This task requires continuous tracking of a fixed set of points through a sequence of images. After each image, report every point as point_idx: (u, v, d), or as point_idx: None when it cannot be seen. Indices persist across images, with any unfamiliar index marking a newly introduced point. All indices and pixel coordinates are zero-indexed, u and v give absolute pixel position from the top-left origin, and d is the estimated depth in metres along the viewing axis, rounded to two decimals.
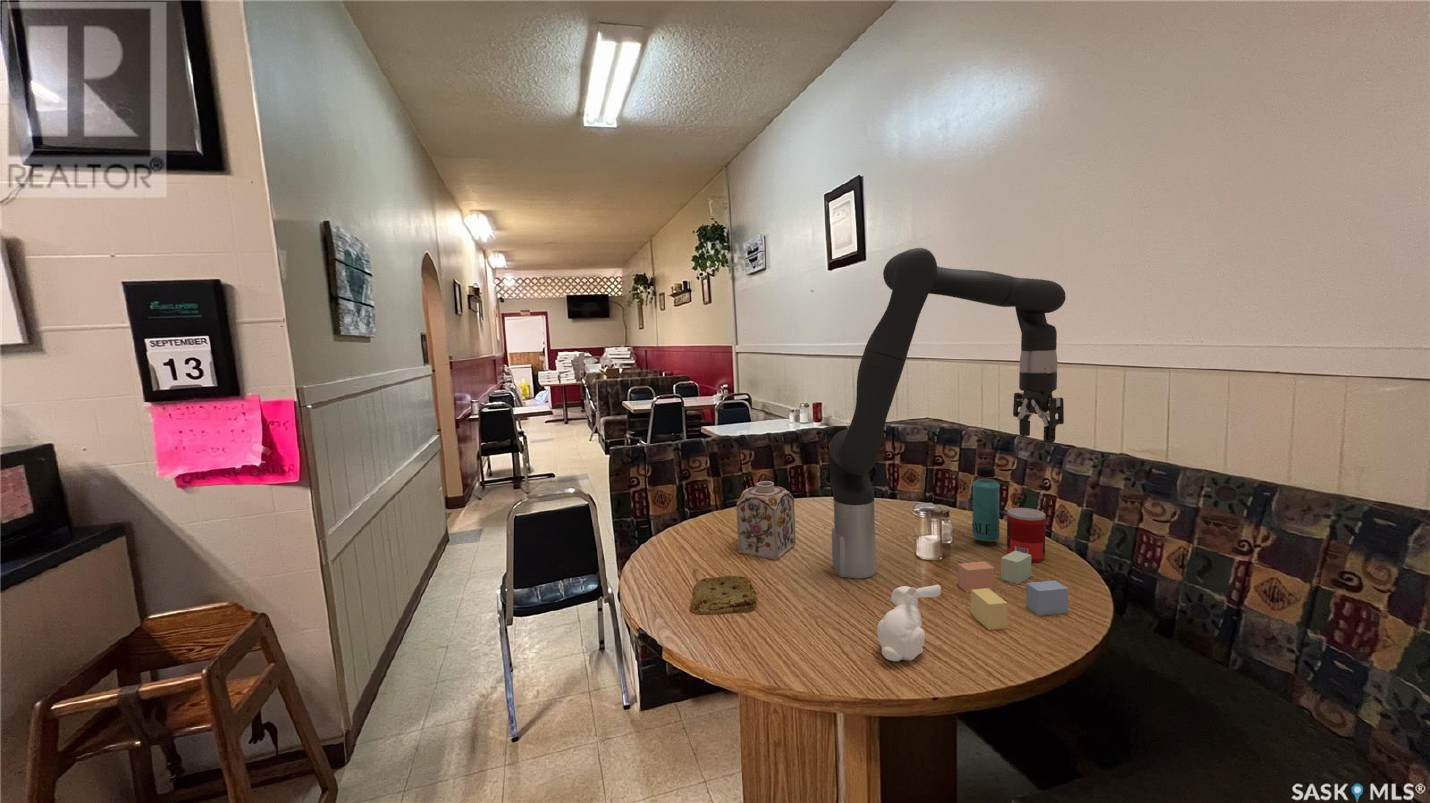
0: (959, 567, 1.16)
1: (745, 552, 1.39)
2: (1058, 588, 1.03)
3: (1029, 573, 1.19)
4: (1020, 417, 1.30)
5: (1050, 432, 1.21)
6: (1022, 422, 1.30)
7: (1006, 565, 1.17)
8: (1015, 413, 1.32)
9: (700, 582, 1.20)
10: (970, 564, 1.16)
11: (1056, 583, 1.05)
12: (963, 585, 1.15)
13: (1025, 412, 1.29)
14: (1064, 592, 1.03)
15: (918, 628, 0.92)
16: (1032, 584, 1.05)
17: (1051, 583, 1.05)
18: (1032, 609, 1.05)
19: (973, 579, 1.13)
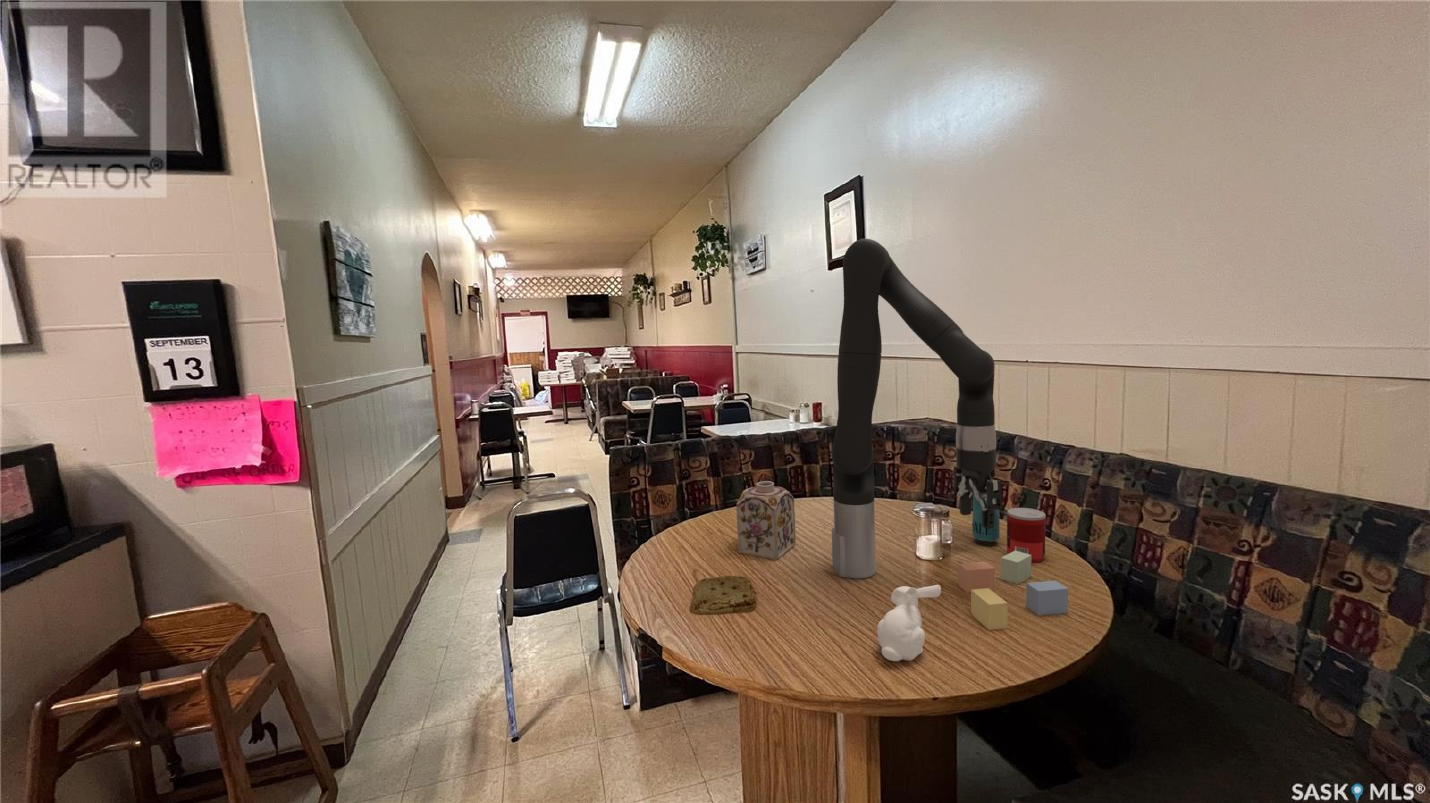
0: (959, 567, 1.16)
1: (745, 552, 1.39)
2: (1058, 588, 1.03)
3: (1029, 573, 1.19)
4: (960, 494, 1.17)
5: (988, 517, 1.08)
6: (962, 500, 1.17)
7: (1006, 565, 1.17)
8: (955, 489, 1.19)
9: (700, 582, 1.20)
10: (970, 564, 1.16)
11: (1056, 583, 1.05)
12: (963, 585, 1.15)
13: (964, 490, 1.16)
14: (1064, 592, 1.03)
15: (918, 628, 0.92)
16: (1032, 584, 1.05)
17: (1051, 583, 1.05)
18: (1032, 609, 1.05)
19: (973, 579, 1.13)
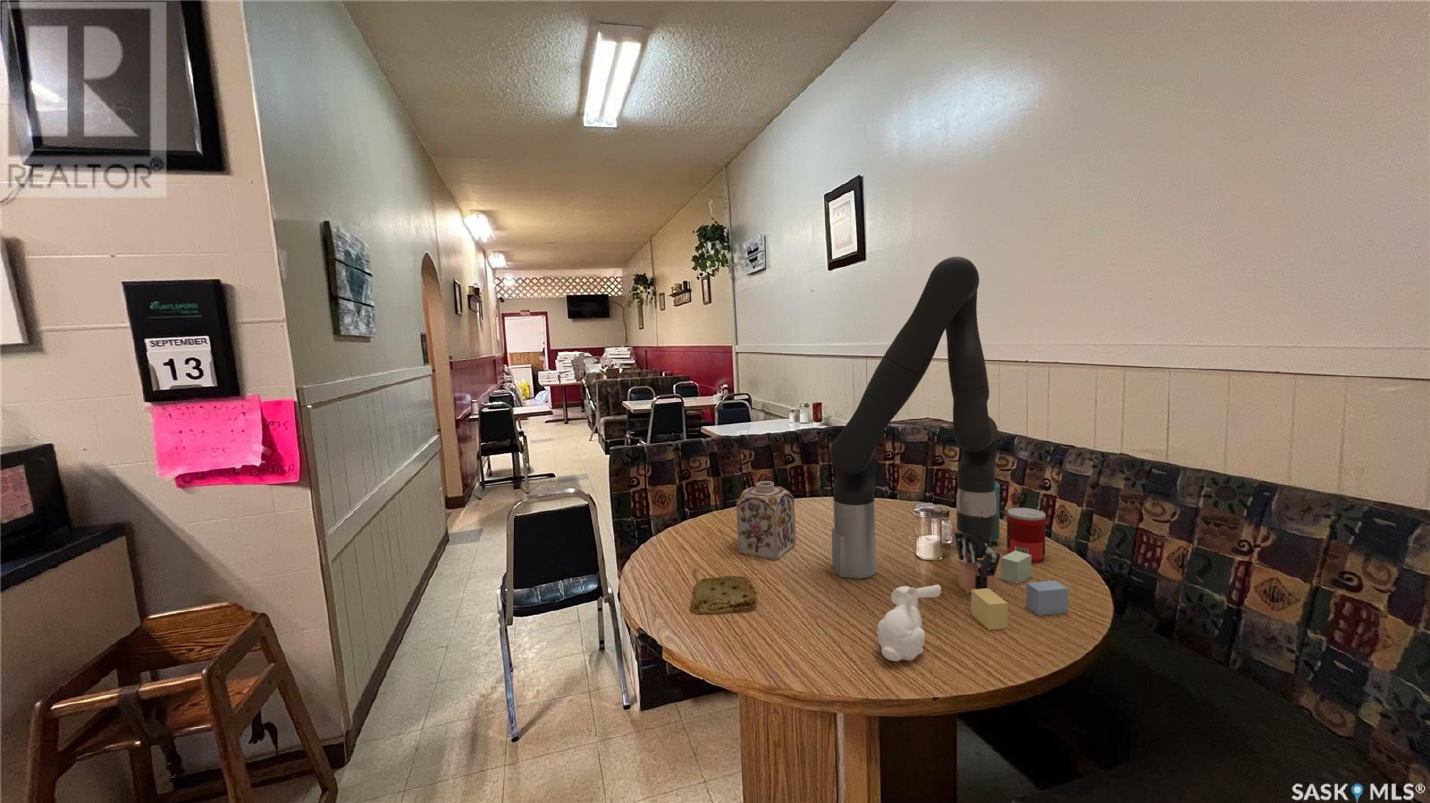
0: (959, 567, 1.16)
1: (745, 552, 1.39)
2: (1058, 588, 1.03)
3: (1029, 573, 1.19)
4: None
5: (981, 582, 1.12)
6: None
7: (1006, 565, 1.17)
8: (961, 556, 1.18)
9: (700, 582, 1.20)
10: (971, 563, 1.16)
11: (1056, 583, 1.05)
12: (964, 585, 1.15)
13: (968, 555, 1.16)
14: (1064, 592, 1.03)
15: (918, 628, 0.92)
16: (1032, 584, 1.05)
17: (1051, 583, 1.05)
18: (1032, 609, 1.05)
19: (974, 578, 1.13)
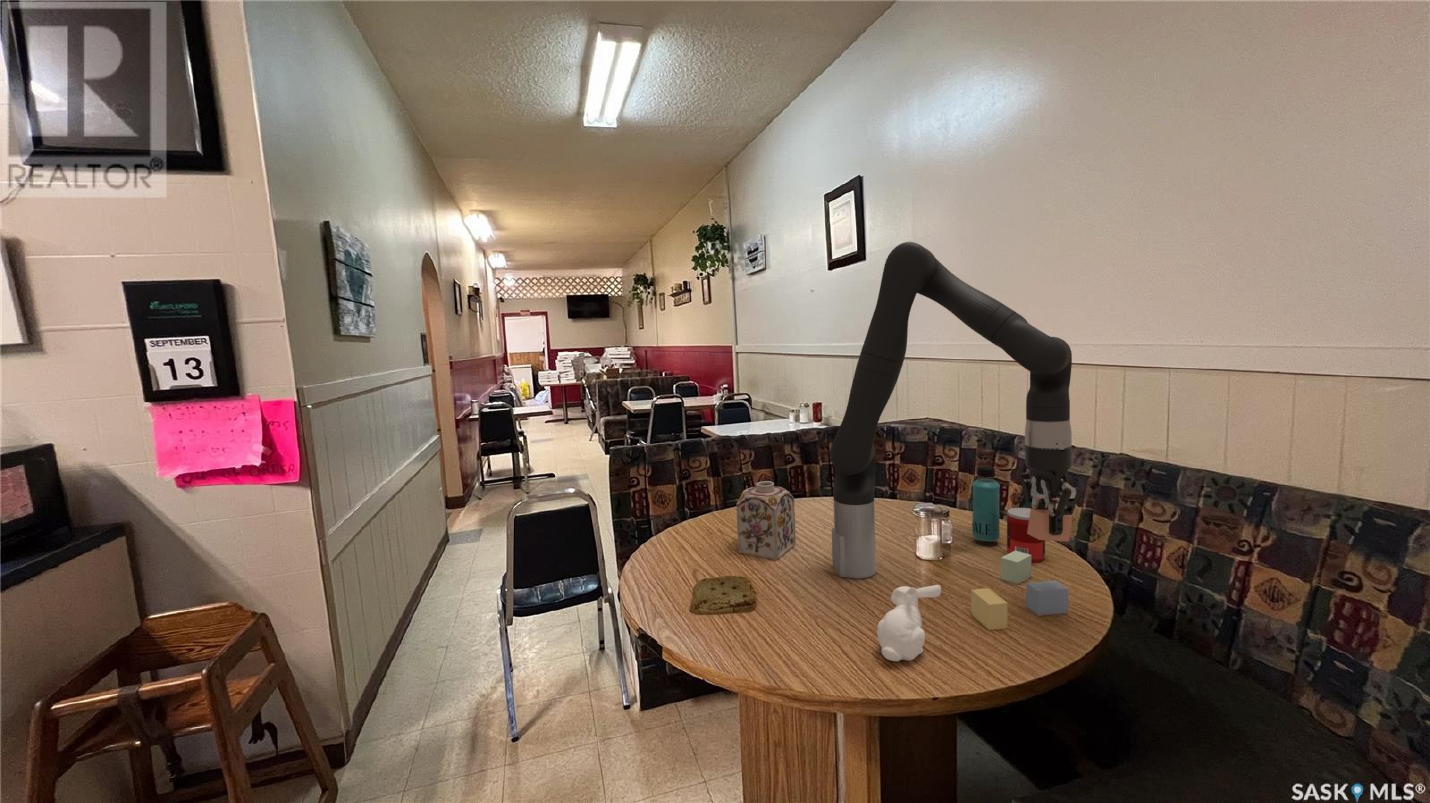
0: (1032, 512, 1.04)
1: (745, 552, 1.39)
2: (1058, 588, 1.03)
3: (1029, 573, 1.19)
4: (1035, 505, 1.05)
5: (1056, 523, 1.00)
6: None
7: (1006, 565, 1.17)
8: (1028, 499, 1.07)
9: (700, 582, 1.20)
10: (1045, 510, 1.04)
11: (1056, 583, 1.05)
12: (1035, 532, 1.03)
13: (1038, 495, 1.04)
14: (1064, 592, 1.03)
15: (918, 628, 0.92)
16: (1032, 584, 1.05)
17: (1051, 583, 1.05)
18: (1032, 609, 1.05)
19: None
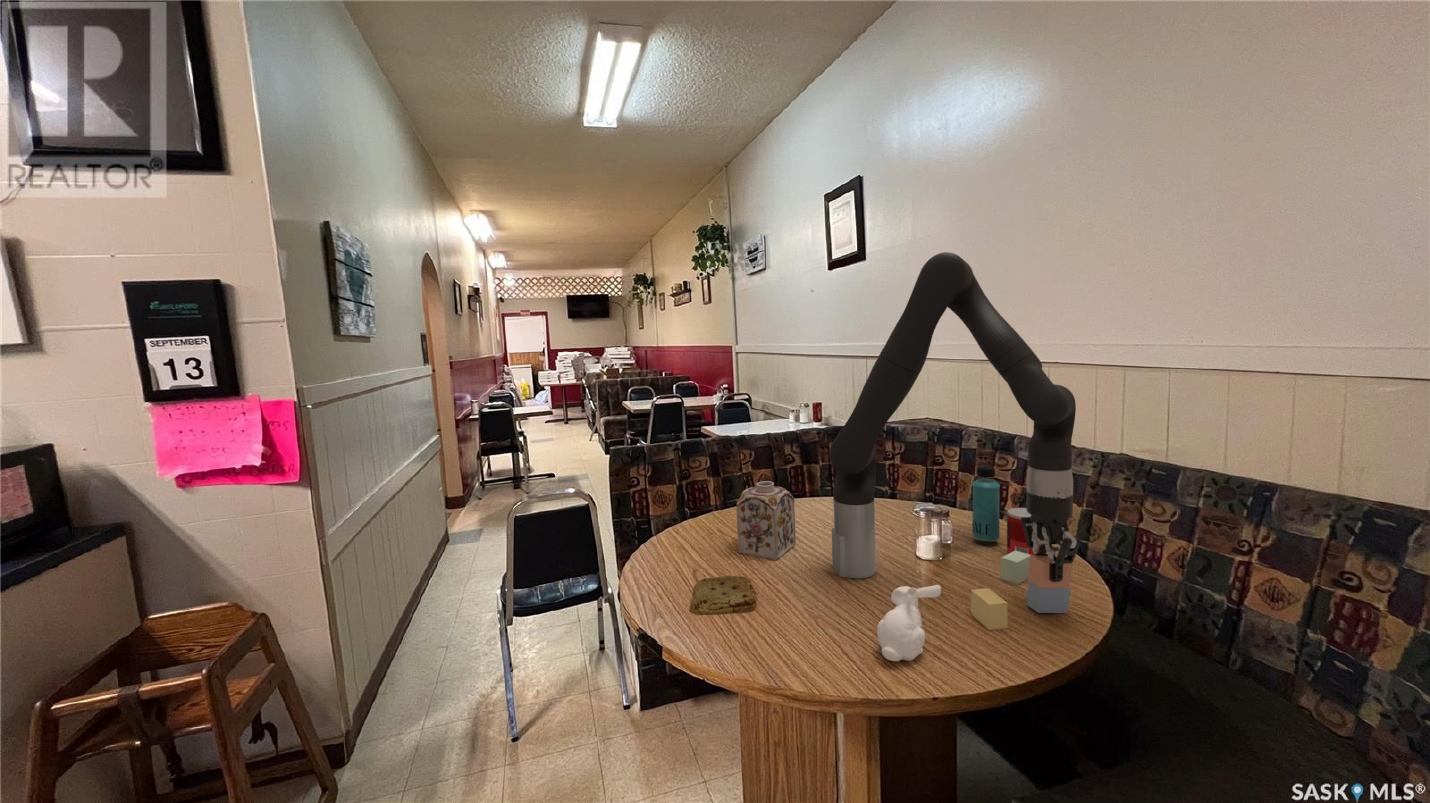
0: (1032, 559, 1.05)
1: (745, 552, 1.39)
2: None
3: None
4: (1036, 550, 1.06)
5: (1057, 571, 1.01)
6: None
7: (1006, 565, 1.17)
8: (1029, 543, 1.07)
9: (700, 582, 1.20)
10: (1044, 557, 1.05)
11: None
12: (1035, 579, 1.04)
13: (1039, 541, 1.05)
14: (1066, 591, 1.03)
15: (918, 628, 0.92)
16: None
17: None
18: (1032, 606, 1.04)
19: (1048, 573, 1.02)
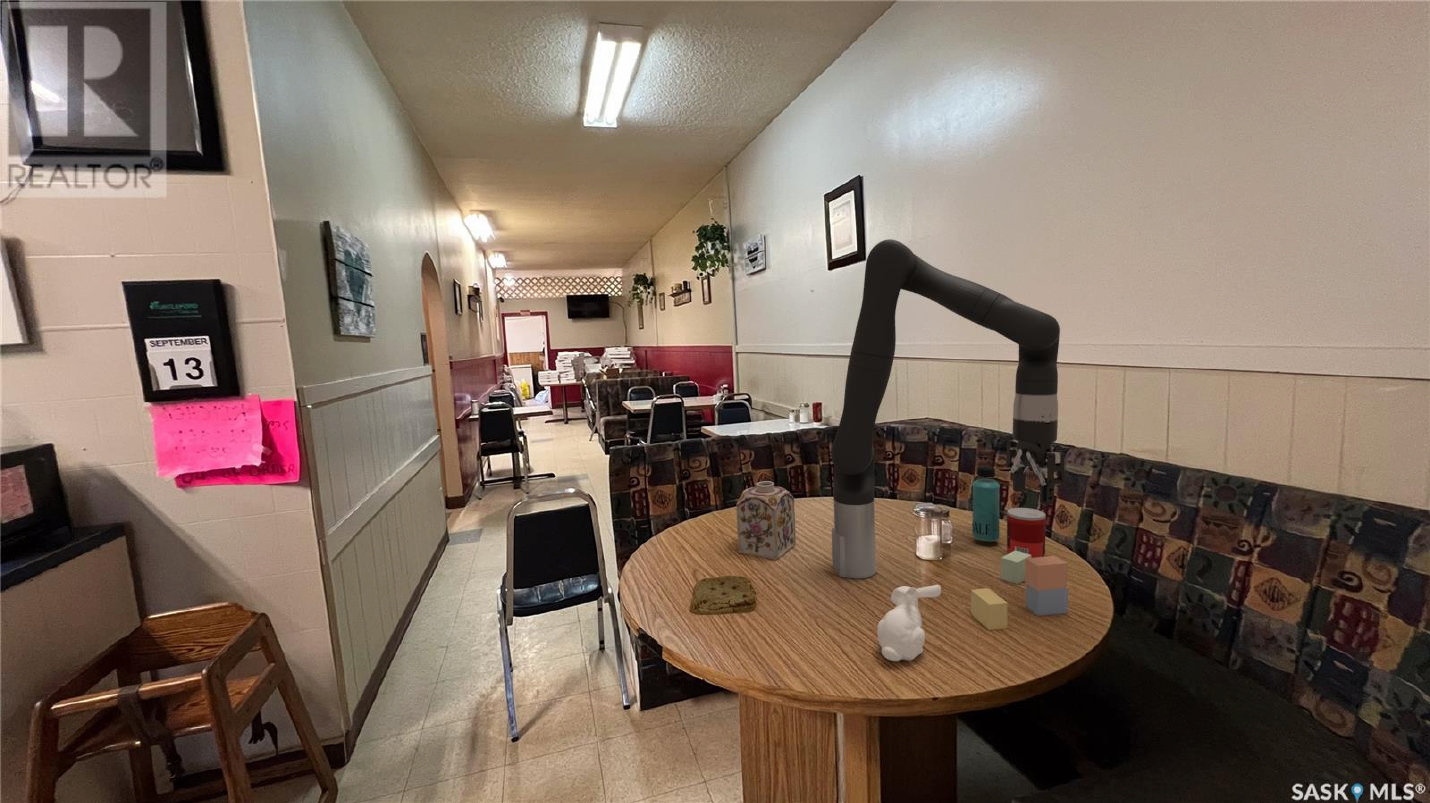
0: (1027, 562, 1.05)
1: (745, 552, 1.39)
2: None
3: None
4: (1014, 469, 1.10)
5: (1048, 492, 1.01)
6: (1016, 475, 1.10)
7: (1006, 565, 1.17)
8: (1008, 464, 1.12)
9: (700, 582, 1.20)
10: (1039, 558, 1.05)
11: None
12: (1032, 582, 1.04)
13: (1019, 464, 1.09)
14: (1064, 592, 1.03)
15: (918, 628, 0.92)
16: None
17: None
18: (1032, 609, 1.05)
19: (1044, 575, 1.02)
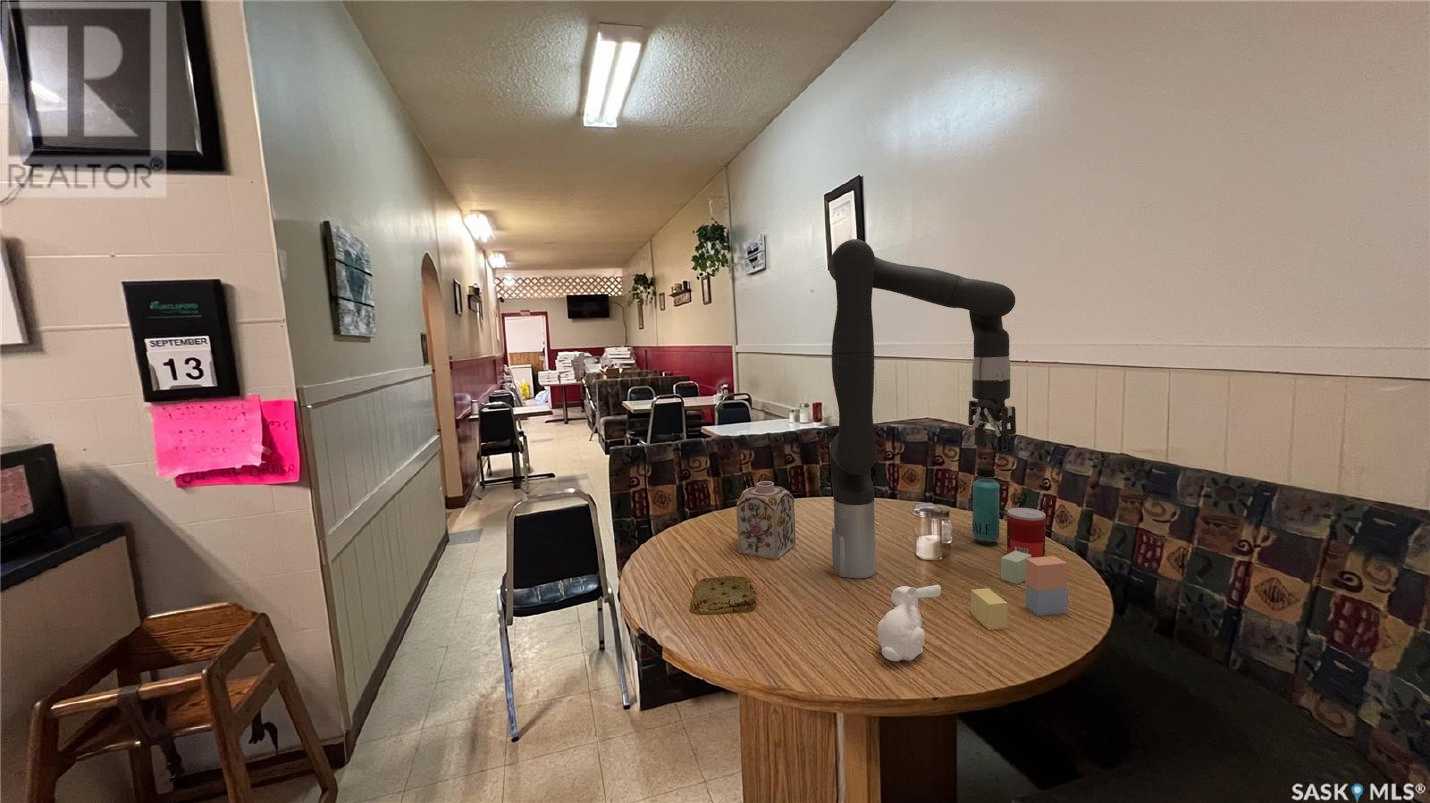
0: (1027, 562, 1.05)
1: (745, 552, 1.39)
2: None
3: None
4: (975, 426, 1.24)
5: (1002, 442, 1.15)
6: (977, 431, 1.24)
7: (1006, 565, 1.17)
8: (970, 422, 1.26)
9: (700, 582, 1.20)
10: (1039, 558, 1.05)
11: None
12: (1032, 582, 1.04)
13: (979, 421, 1.23)
14: (1064, 592, 1.03)
15: (918, 628, 0.92)
16: None
17: None
18: (1032, 609, 1.05)
19: (1044, 575, 1.02)
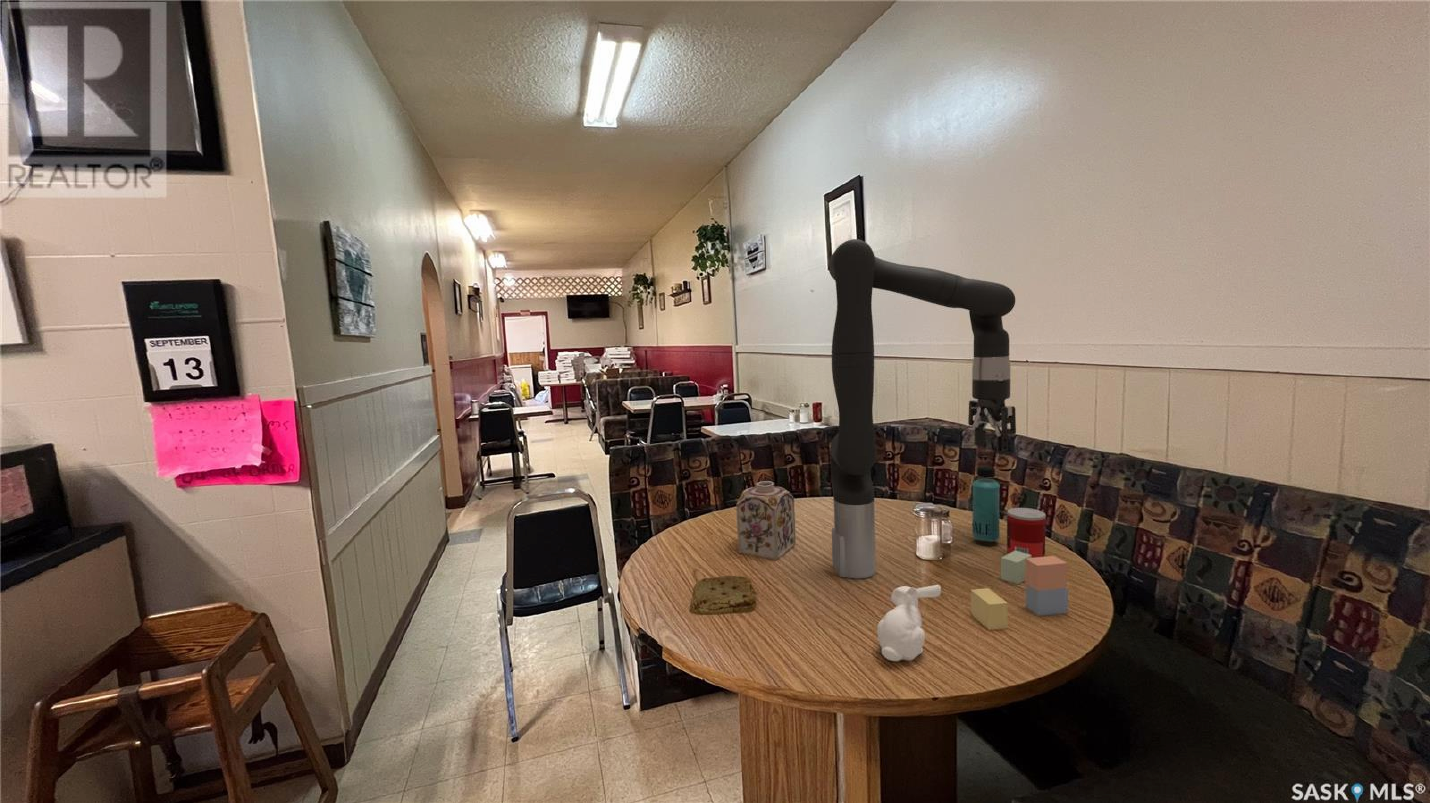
0: (1027, 562, 1.05)
1: (745, 552, 1.39)
2: None
3: None
4: (975, 426, 1.24)
5: (1002, 442, 1.15)
6: (977, 431, 1.24)
7: (1006, 565, 1.17)
8: (970, 422, 1.26)
9: (700, 582, 1.20)
10: (1039, 558, 1.05)
11: None
12: (1032, 582, 1.04)
13: (979, 421, 1.23)
14: (1064, 592, 1.03)
15: (918, 628, 0.92)
16: None
17: None
18: (1032, 609, 1.05)
19: (1044, 575, 1.02)
